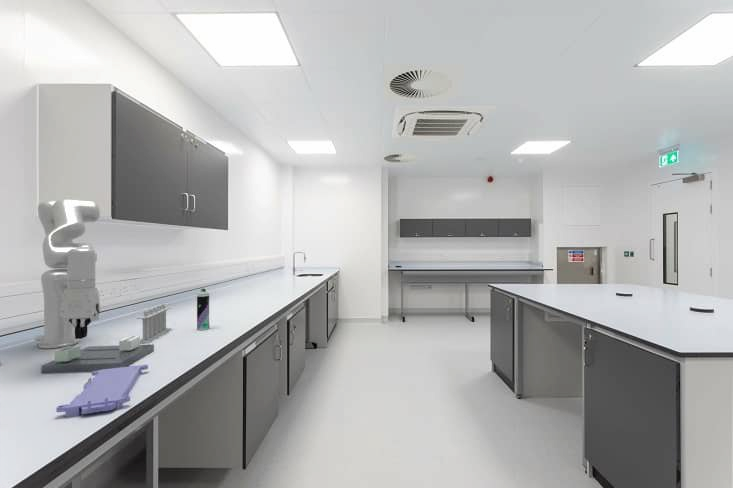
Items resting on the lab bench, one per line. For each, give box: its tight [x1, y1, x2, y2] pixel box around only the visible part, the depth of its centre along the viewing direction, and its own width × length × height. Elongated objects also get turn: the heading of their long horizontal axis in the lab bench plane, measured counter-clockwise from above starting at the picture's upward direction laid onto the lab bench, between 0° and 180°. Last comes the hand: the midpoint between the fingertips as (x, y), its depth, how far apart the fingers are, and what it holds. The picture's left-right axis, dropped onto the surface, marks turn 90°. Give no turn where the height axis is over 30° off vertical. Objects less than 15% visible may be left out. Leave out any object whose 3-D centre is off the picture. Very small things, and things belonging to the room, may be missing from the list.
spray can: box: [196, 288, 210, 331], centre depth 174 cm, size 6×6×20 cm
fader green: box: [54, 344, 82, 362], centre depth 119 cm, size 4×6×4 cm, turn 5°
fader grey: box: [118, 335, 141, 351], centre depth 132 cm, size 4×6×4 cm, turn 5°
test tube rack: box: [136, 303, 172, 345], centre depth 161 cm, size 25×4×13 cm, turn 9°
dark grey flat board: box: [40, 343, 155, 375], centre depth 126 cm, size 24×22×3 cm
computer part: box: [56, 364, 149, 418], centre depth 99 cm, size 30×4×15 cm
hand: (81, 337), depth 120 cm, fingers closed
